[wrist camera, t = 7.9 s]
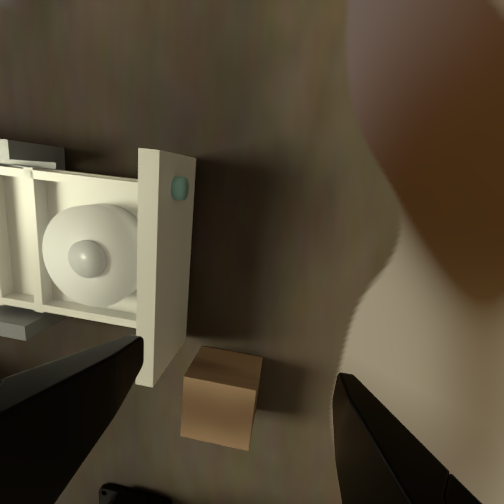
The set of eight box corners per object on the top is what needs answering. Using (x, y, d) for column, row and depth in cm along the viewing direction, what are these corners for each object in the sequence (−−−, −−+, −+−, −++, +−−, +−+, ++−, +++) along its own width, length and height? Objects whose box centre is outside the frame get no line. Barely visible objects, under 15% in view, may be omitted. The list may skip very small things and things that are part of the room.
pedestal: (255, 409, 22) (248, 451, 19) (197, 398, 23) (180, 435, 19) (262, 357, 21) (256, 390, 18) (201, 345, 22) (183, 376, 18)
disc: (151, 302, 19) (134, 317, 17) (66, 287, 20) (41, 299, 18) (154, 210, 18) (136, 214, 16) (63, 197, 18) (34, 199, 16)
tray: (192, 341, 21) (161, 389, 16) (26, 311, 23) (-47, 346, 18) (204, 159, 18) (170, 151, 13) (11, 138, 20) (-83, 124, 15)
